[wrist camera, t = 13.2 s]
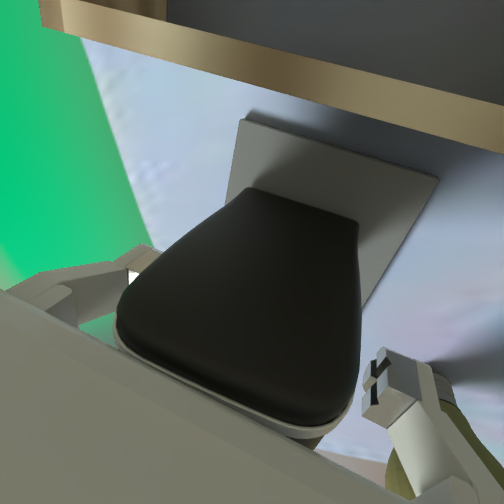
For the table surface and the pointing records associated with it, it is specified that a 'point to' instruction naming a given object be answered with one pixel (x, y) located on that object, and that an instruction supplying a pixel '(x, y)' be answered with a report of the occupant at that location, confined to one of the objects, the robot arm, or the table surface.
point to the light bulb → (395, 471)
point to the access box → (279, 69)
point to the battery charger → (256, 313)
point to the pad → (334, 188)
